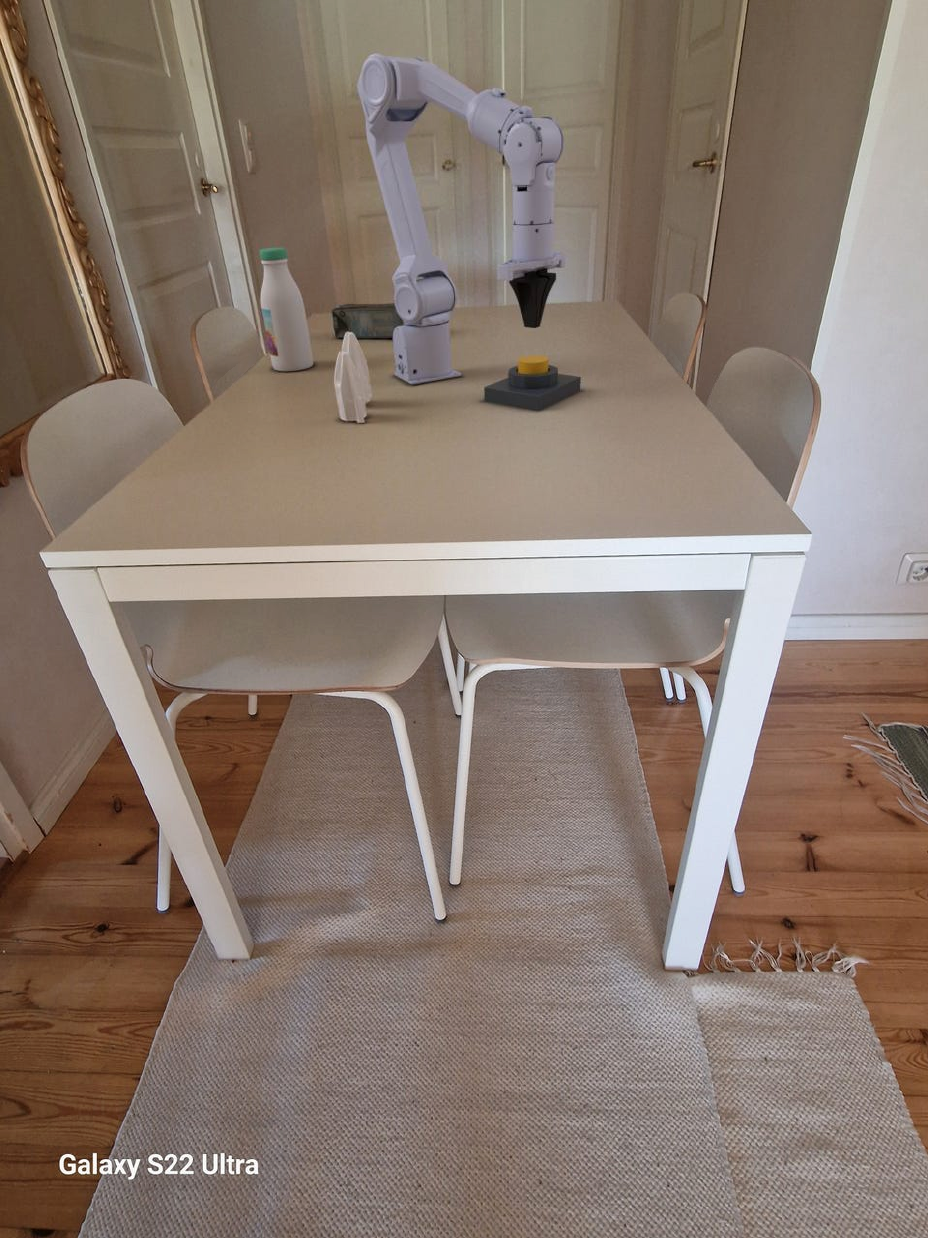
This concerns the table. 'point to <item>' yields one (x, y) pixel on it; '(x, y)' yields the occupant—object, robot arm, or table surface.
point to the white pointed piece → (352, 381)
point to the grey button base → (532, 389)
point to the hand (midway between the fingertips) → (532, 326)
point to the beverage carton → (366, 320)
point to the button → (533, 364)
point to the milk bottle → (284, 314)
